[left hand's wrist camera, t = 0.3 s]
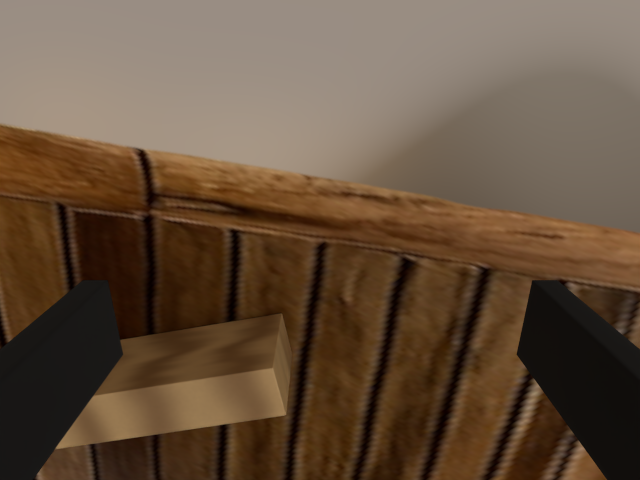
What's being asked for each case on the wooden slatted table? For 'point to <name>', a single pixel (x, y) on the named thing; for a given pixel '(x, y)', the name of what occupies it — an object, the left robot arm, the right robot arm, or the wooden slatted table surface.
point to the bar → (190, 382)
